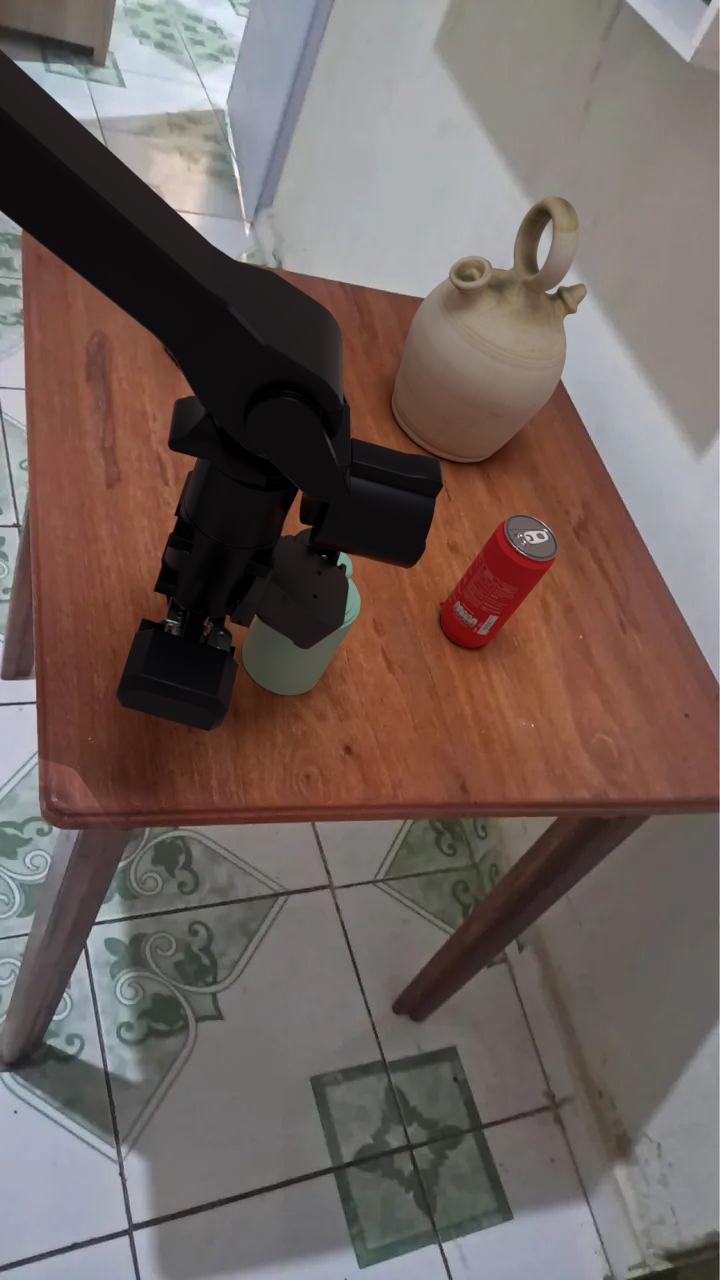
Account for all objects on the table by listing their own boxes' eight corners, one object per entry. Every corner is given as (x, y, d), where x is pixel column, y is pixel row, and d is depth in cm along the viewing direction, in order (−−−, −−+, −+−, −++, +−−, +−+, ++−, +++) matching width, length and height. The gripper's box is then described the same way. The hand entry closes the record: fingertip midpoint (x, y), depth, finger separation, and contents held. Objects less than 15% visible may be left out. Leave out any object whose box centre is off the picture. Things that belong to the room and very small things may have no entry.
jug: (372, 447, 92) (491, 215, 74) (379, 353, 102) (486, 127, 84) (513, 495, 96) (660, 286, 78) (507, 401, 106) (636, 194, 87)
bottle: (229, 671, 71) (275, 570, 62) (259, 613, 75) (307, 511, 66) (306, 709, 71) (363, 615, 62) (331, 650, 75) (389, 554, 67)
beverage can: (426, 608, 82) (489, 514, 73) (472, 599, 85) (539, 508, 76) (454, 656, 80) (523, 566, 71) (500, 646, 83) (573, 558, 74)
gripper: (349, 682, 50) (263, 813, 61) (379, 454, 62) (303, 600, 73) (140, 616, 47) (92, 766, 59) (213, 392, 59) (162, 553, 71)
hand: (174, 663), depth 65 cm, fingers closed on cap, 4 cm apart
